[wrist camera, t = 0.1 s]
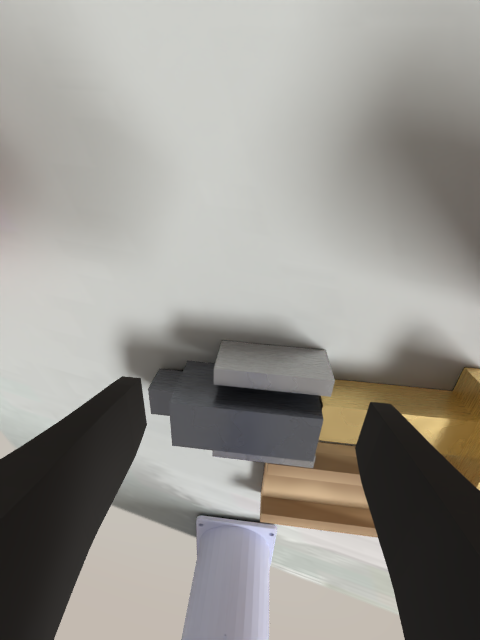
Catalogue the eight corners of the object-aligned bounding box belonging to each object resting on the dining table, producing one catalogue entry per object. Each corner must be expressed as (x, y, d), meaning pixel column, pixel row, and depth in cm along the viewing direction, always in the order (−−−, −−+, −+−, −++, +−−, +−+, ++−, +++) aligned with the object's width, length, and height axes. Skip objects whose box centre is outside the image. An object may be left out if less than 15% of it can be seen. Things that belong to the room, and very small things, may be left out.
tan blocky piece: (444, 443, 22) (484, 508, 18) (306, 428, 23) (313, 487, 19) (483, 369, 19) (543, 425, 15) (321, 353, 20) (335, 404, 16)
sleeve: (308, 431, 23) (313, 468, 20) (219, 421, 24) (212, 456, 21) (325, 350, 20) (334, 380, 17) (221, 340, 20) (213, 368, 17)
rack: (406, 511, 26) (418, 542, 24) (260, 493, 27) (259, 521, 25) (435, 455, 23) (452, 485, 21) (268, 436, 24) (268, 463, 22)
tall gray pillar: (305, 410, 22) (313, 461, 18) (164, 395, 23) (142, 442, 19) (313, 371, 21) (323, 419, 17) (161, 356, 22) (135, 399, 18)
